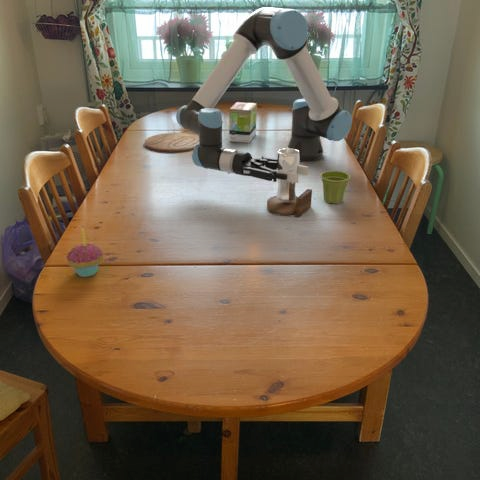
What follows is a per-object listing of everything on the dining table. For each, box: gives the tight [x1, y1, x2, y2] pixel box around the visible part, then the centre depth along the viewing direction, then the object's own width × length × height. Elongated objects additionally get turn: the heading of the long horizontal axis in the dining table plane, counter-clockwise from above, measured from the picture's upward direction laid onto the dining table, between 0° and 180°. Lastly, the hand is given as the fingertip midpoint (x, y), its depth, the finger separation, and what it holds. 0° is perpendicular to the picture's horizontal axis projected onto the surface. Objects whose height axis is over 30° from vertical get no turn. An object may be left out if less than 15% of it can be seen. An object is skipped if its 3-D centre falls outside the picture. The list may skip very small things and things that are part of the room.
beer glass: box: [275, 147, 301, 201], centre depth 154 cm, size 7×7×15 cm
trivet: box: [144, 132, 199, 154], centre depth 220 cm, size 25×25×2 cm
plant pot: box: [320, 170, 351, 205], centre depth 163 cm, size 9×9×9 cm
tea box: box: [228, 101, 258, 144], centre depth 226 cm, size 15×10×15 cm
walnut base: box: [266, 188, 313, 218], centre depth 158 cm, size 13×12×6 cm
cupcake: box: [66, 224, 104, 278], centre depth 121 cm, size 9×8×12 cm
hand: (302, 174), depth 151 cm, fingers closed on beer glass, 7 cm apart
